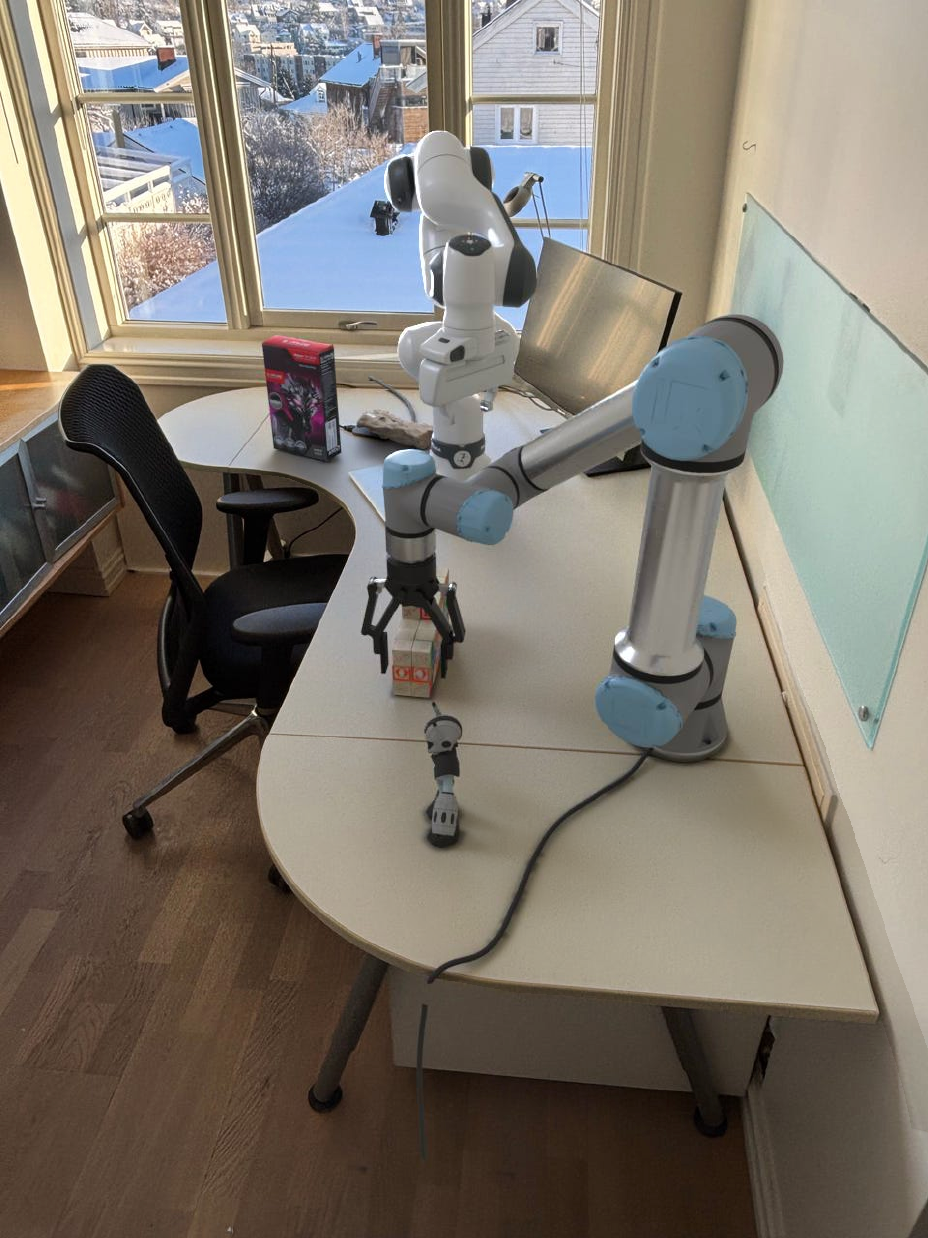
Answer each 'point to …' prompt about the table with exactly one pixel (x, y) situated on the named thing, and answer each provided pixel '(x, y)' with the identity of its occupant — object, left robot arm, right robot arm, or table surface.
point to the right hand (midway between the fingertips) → (414, 671)
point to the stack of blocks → (418, 648)
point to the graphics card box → (302, 396)
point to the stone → (396, 428)
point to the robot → (443, 777)
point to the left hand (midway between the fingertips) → (468, 417)
